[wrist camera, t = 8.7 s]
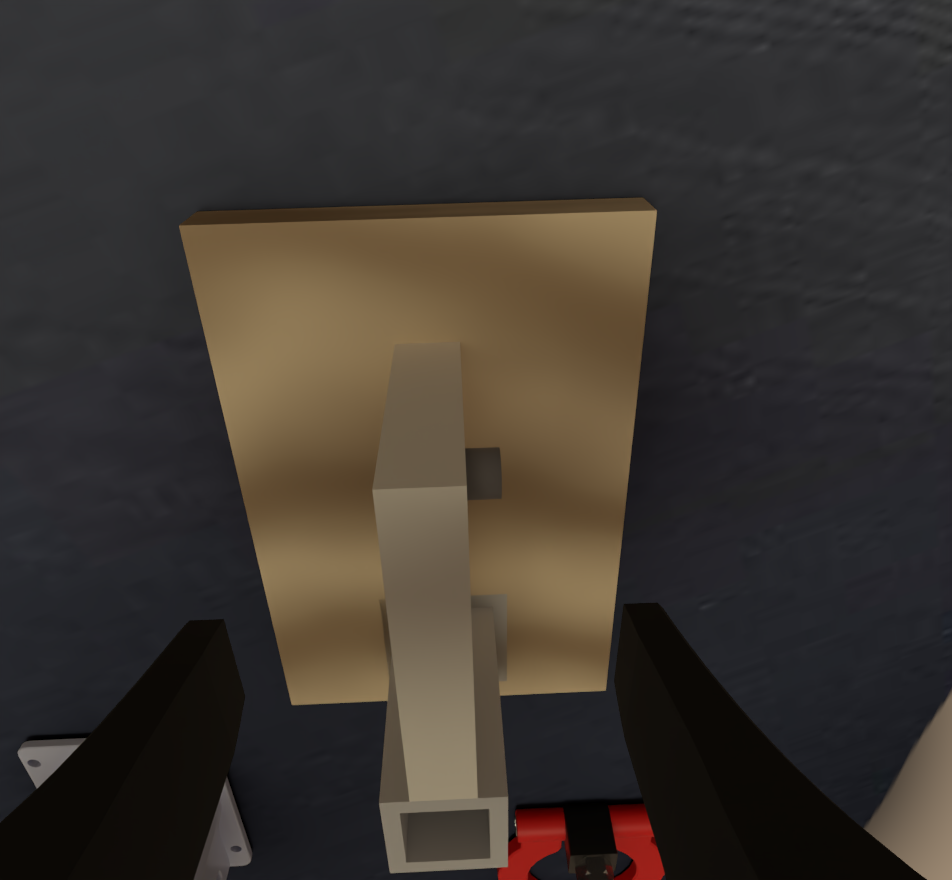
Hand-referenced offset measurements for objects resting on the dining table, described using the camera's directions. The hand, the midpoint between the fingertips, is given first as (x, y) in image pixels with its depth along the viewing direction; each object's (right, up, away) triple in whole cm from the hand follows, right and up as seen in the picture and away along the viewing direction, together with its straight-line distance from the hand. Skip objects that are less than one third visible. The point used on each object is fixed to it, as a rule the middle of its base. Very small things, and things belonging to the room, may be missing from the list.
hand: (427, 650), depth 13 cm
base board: (0, +2, +11) cm, 11 cm away
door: (0, +1, +10) cm, 10 cm away
